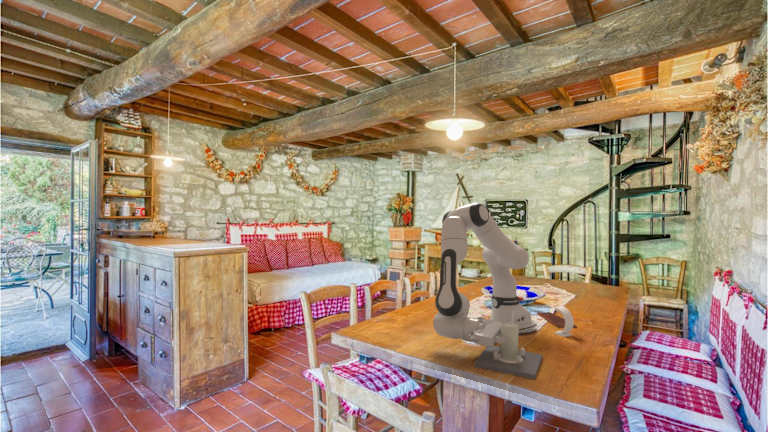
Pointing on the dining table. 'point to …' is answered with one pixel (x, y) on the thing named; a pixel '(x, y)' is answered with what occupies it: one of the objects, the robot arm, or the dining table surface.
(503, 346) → the canister
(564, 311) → the headphone stand
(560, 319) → the wooden tablet
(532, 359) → the peg stand
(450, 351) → the dining table surface
